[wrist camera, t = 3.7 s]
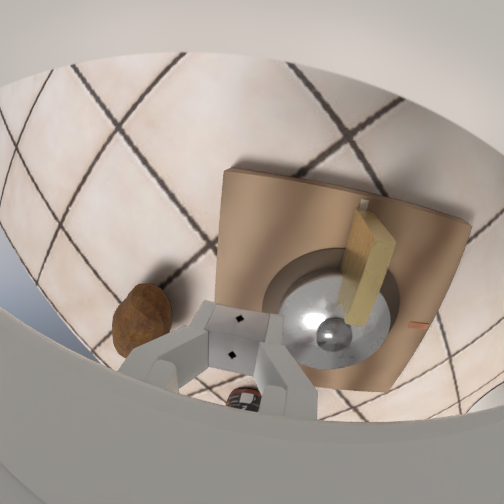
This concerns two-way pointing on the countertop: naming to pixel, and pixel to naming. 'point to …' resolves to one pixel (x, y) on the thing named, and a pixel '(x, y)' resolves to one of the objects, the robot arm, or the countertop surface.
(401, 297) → the panel
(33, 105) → the countertop surface
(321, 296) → the grey round gold-handled piece
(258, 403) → the supplement bottle
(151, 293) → the potato
